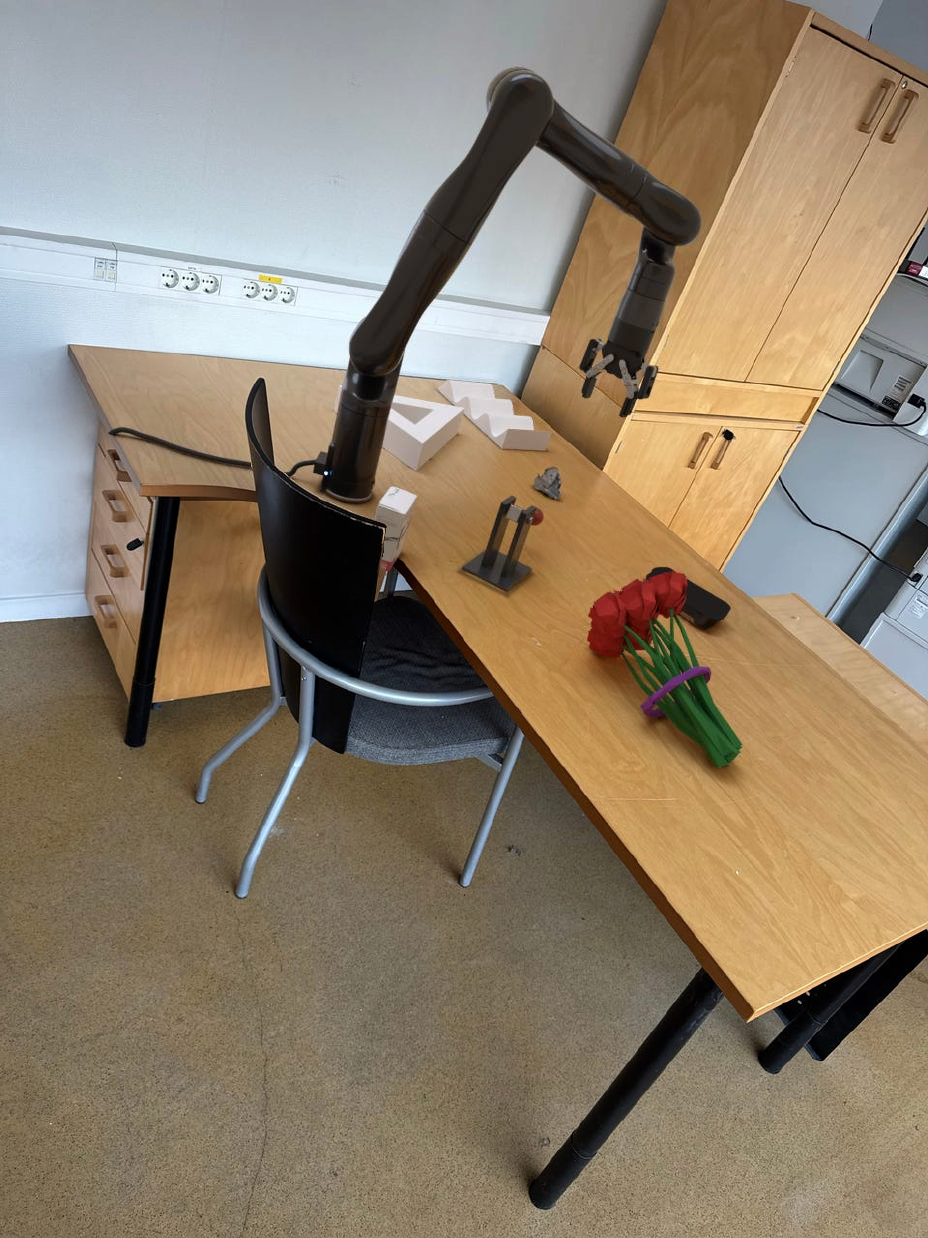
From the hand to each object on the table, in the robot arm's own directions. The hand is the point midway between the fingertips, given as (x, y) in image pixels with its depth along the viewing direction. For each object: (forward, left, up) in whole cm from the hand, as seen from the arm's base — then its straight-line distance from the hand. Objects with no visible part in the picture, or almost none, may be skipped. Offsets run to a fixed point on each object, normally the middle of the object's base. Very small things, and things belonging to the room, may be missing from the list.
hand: (604, 406), depth 156 cm
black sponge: (+24, -17, -27) cm, 40 cm away
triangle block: (-32, +31, -27) cm, 53 cm away
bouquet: (+14, -51, -27) cm, 59 cm away
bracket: (-12, -23, -27) cm, 38 cm away
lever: (-10, -18, -19) cm, 28 cm away
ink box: (-32, -29, -27) cm, 51 cm away
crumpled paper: (-2, +19, -27) cm, 34 cm away
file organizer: (-16, +57, -27) cm, 65 cm away
